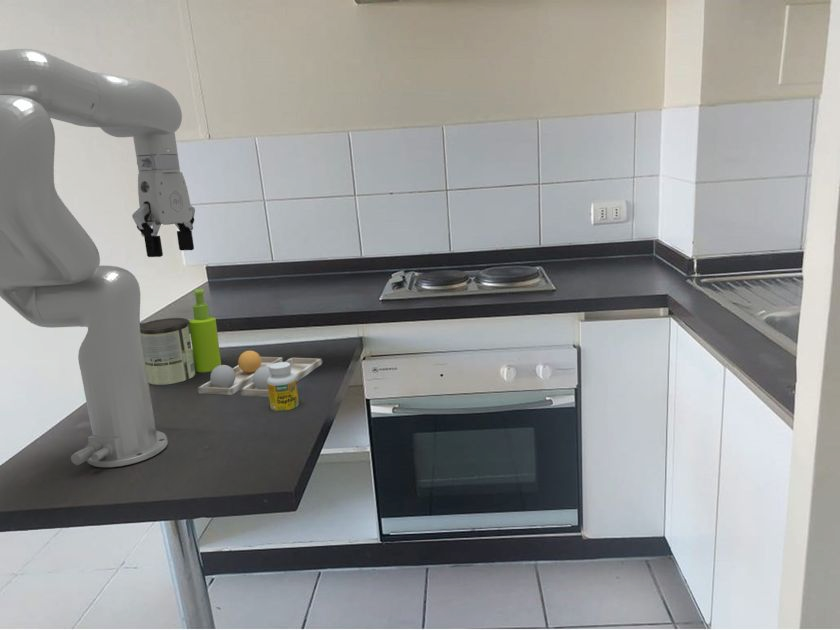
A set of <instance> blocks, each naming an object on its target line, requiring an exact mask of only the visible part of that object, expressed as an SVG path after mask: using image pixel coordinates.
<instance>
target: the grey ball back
mask: <svg viewBox="0 0 840 630" xmlns="http://www.w3.org/2000/svg"><path fill="white" fill-rule="evenodd" d="M232 368H233V367H231V366H229V365H227V364H221V365H219V366H217V367H215V368H214V369H213V371H210V380H211V382H212V384H213V385H214V386H215V387H221V388H228V387H230V386H231V385H232V384H233V383H234V381H235V372H234V370H233V369H232Z"/></svg>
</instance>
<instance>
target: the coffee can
mask: <svg viewBox="0 0 840 630" xmlns="http://www.w3.org/2000/svg"><path fill="white" fill-rule="evenodd" d="M140 332H141V341H142V348H143V354H144V360H145V366H146V372H147V379H148V384H152V385H171V384H177V383H180V382H184V381H187V380H189V379H191V378H193V377H194V376H195V375H196V371H195V366H194V358H193V350H192V342H191V335H190V327H189V319H188V318H185V317H172V318H171V317H168V318H162V319H161V318H160V319H155V320H150V321H147V322H144V323H140Z"/></svg>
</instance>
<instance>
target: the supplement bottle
mask: <svg viewBox="0 0 840 630" xmlns="http://www.w3.org/2000/svg"><path fill="white" fill-rule="evenodd" d="M269 372H270V374H271V376H269V377H268V379H267V385H268V392H269V397H268V399H269V407H270V409H271V410H273V411H276V412H286V411H290V410H292V409H295V408H297V407H298V406H299V405H300V402H299V392H298V385H297V382H296V377H295V375H294V374H293V373H290V372H291V364H290V363H288V362H285V361H283V362H279V363H274V364H271V365H270V366H269Z"/></svg>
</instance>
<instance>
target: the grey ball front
mask: <svg viewBox="0 0 840 630" xmlns="http://www.w3.org/2000/svg"><path fill="white" fill-rule="evenodd" d="M269 376H271V374H270V372H269V367H268V366H264V367H261V368H259V369H257V370H256V372H255V373H254V375H253V382H254V385H255V386H256V387H257V388H258V389H264V390H268V385H267V379H268V377H269Z"/></svg>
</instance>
